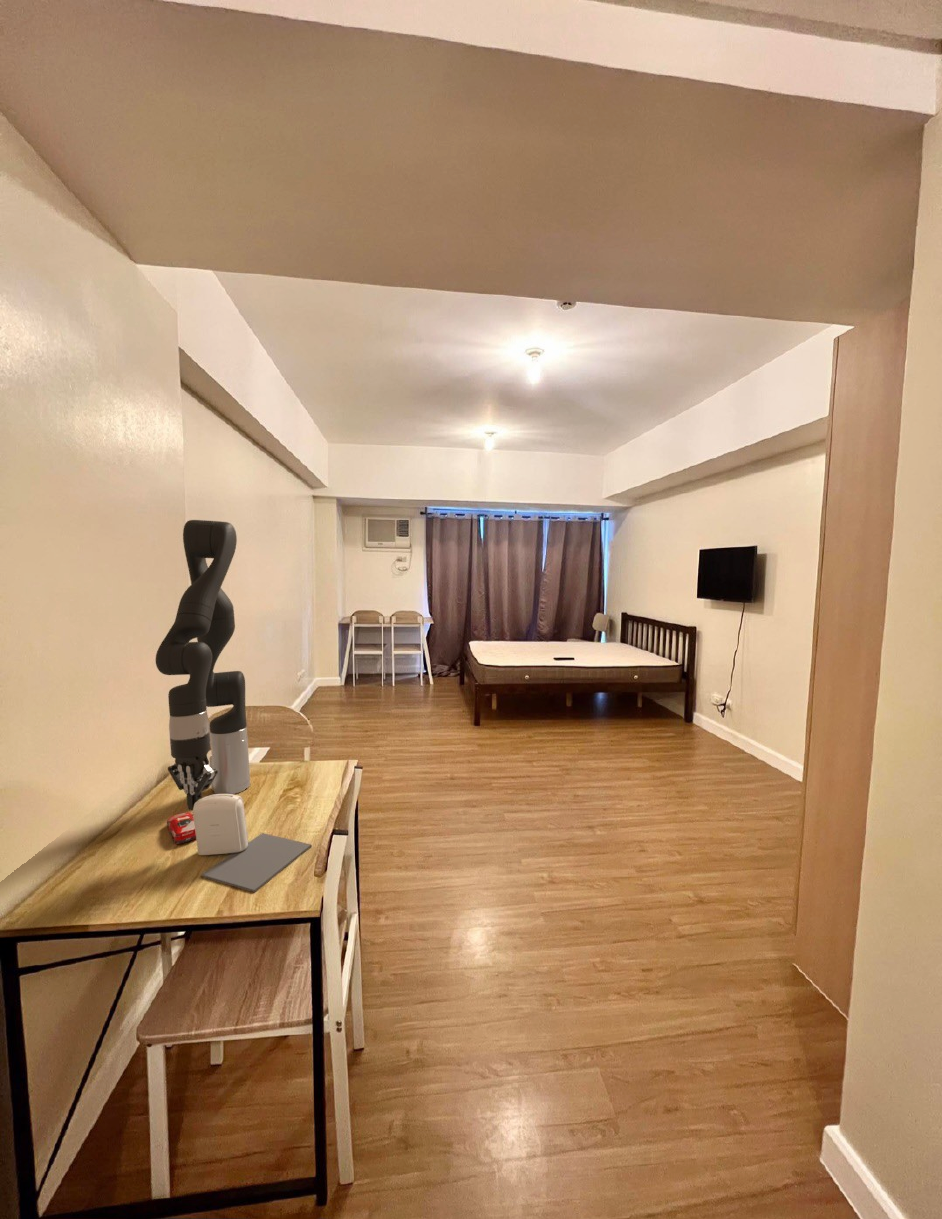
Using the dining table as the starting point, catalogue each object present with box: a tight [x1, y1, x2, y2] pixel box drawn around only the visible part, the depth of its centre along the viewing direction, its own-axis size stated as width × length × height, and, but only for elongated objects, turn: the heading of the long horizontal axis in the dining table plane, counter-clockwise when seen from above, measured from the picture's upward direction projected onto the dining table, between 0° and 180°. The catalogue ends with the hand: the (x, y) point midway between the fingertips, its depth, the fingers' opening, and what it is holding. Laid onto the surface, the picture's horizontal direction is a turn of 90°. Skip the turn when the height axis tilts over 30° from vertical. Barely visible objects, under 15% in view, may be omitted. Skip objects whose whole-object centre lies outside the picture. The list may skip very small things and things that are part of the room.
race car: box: [166, 812, 196, 845], centre depth 113 cm, size 13×5×4 cm, turn 39°
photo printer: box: [192, 793, 249, 856], centre depth 104 cm, size 10×4×12 cm, turn 90°
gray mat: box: [200, 832, 312, 893], centre depth 101 cm, size 14×16×1 cm
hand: (195, 808), depth 106 cm, fingers closed
